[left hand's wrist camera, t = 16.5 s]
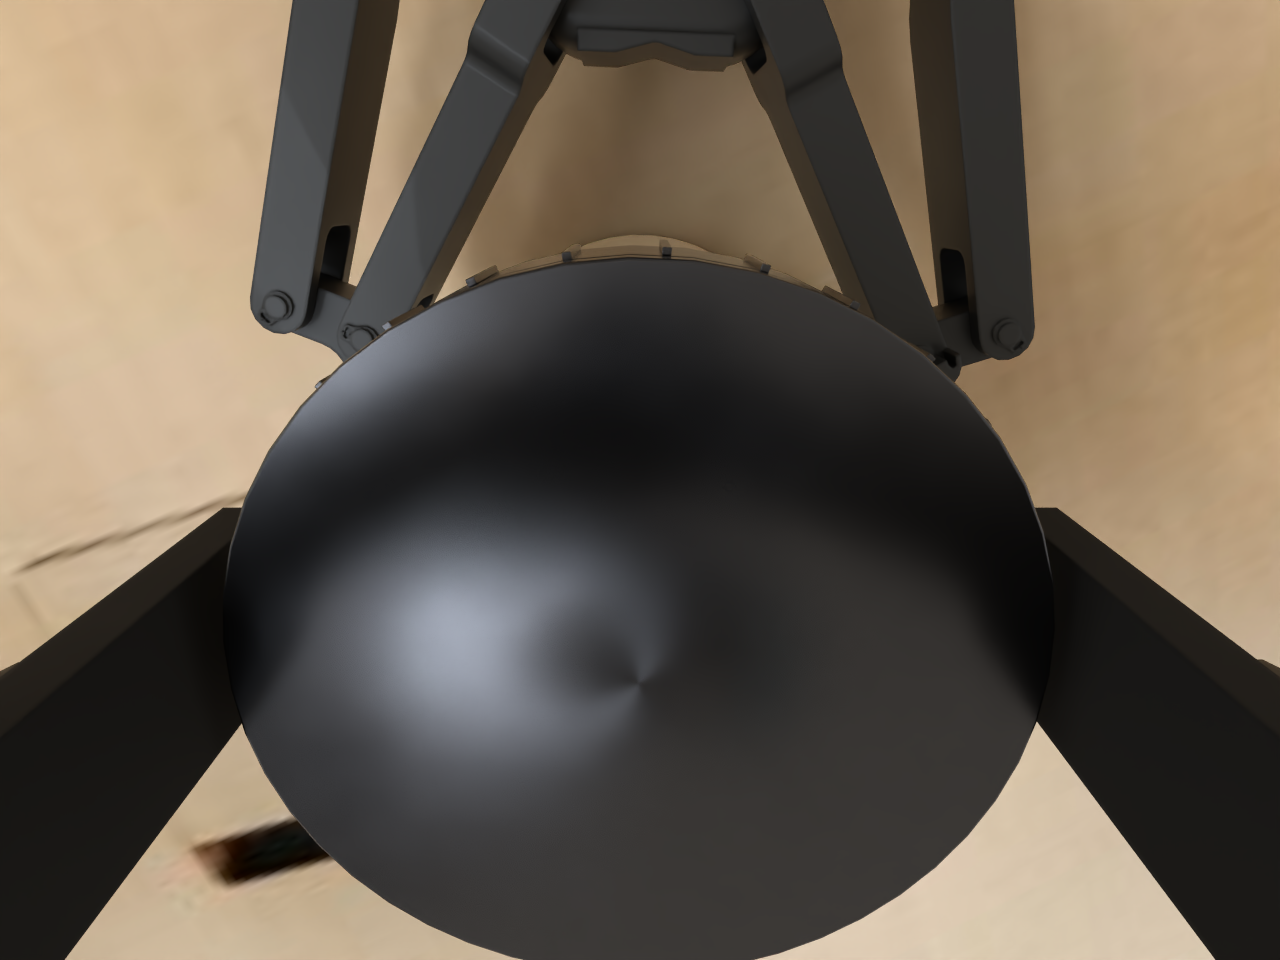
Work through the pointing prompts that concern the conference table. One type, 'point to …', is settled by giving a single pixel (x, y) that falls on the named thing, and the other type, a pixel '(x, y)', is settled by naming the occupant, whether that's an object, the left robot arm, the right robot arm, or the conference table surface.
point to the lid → (638, 610)
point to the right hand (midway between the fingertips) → (633, 606)
